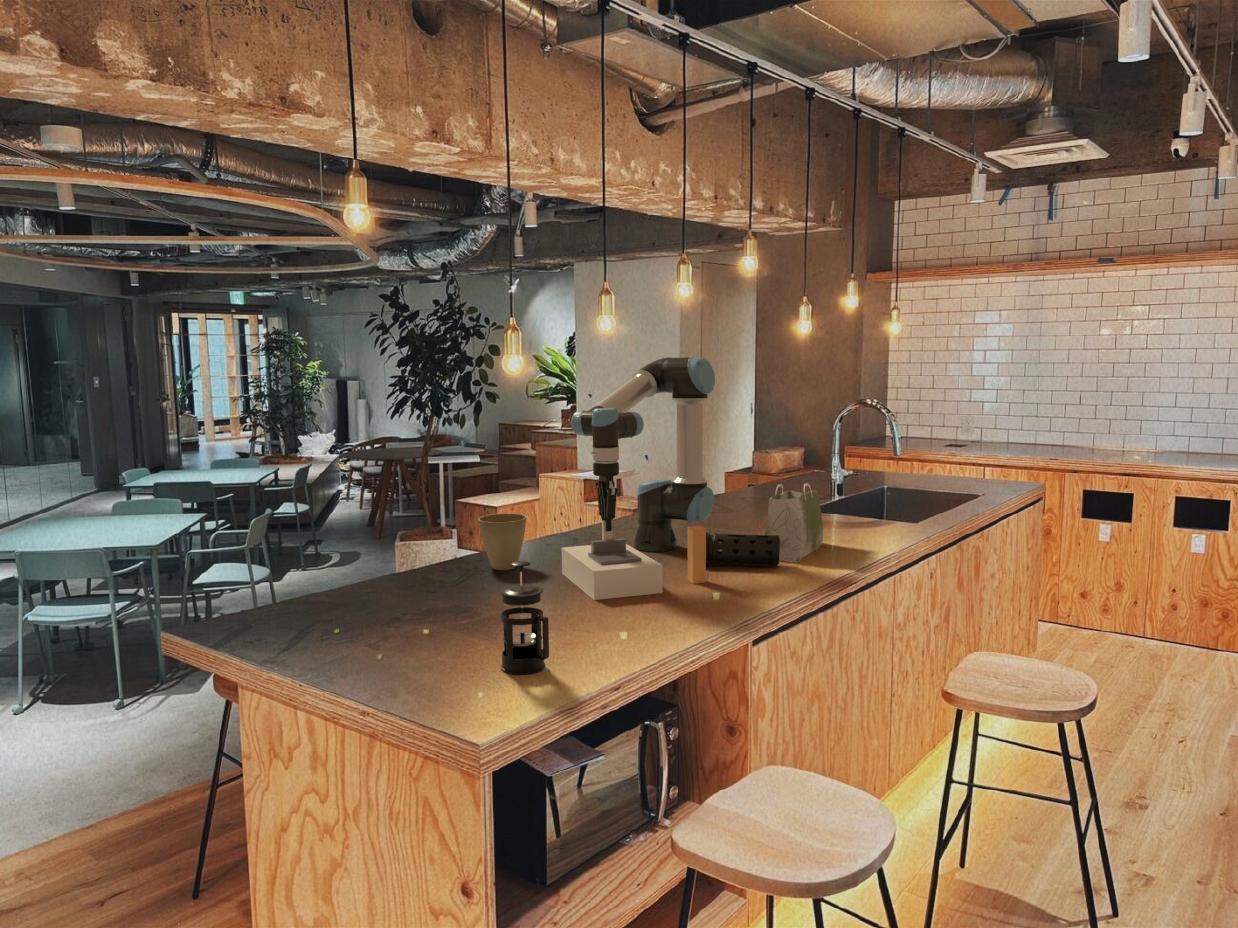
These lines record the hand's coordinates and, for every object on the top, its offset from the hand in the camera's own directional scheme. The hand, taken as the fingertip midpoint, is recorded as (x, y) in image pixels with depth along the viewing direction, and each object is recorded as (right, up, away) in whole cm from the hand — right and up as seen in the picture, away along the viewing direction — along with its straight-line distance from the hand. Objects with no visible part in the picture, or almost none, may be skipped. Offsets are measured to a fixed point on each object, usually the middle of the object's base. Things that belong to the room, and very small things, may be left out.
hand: (607, 541), depth 264 cm
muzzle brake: (+39, -9, +19) cm, 45 cm away
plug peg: (+26, -12, -1) cm, 29 cm away
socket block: (+1, -12, -1) cm, 12 cm away
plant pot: (-33, -10, +19) cm, 39 cm away
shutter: (+2, -4, -6) cm, 8 cm away
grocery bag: (+61, -7, +38) cm, 73 cm away
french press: (-17, -21, -71) cm, 76 cm away
